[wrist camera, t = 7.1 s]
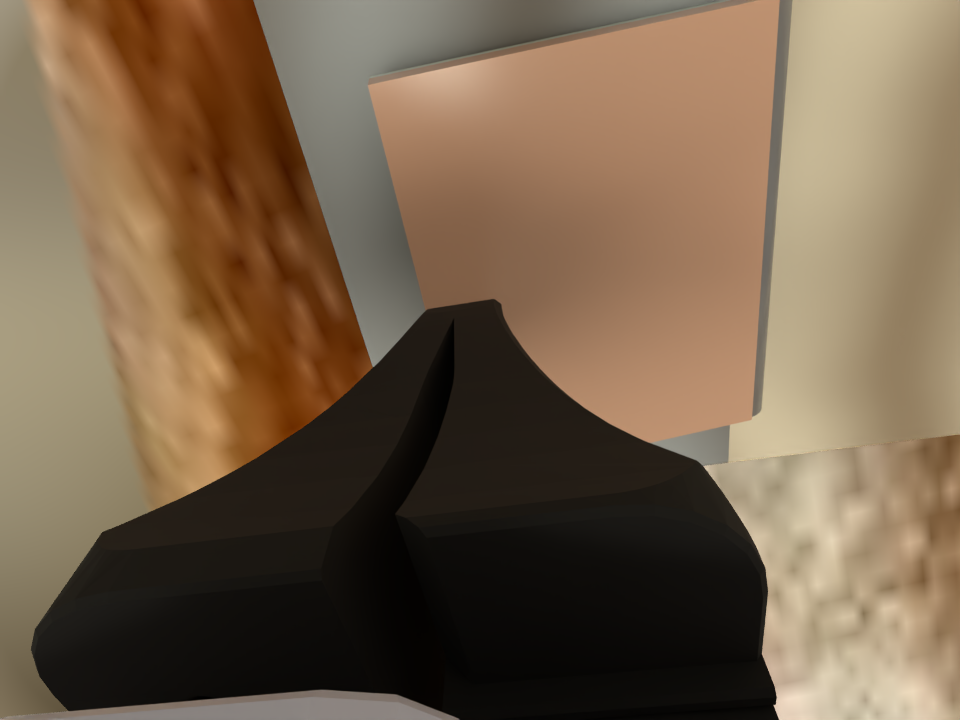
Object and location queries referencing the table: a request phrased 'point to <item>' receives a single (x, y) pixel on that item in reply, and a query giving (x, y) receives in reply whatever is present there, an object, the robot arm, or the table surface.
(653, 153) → the tile
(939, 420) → the tile board
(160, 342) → the table surface
